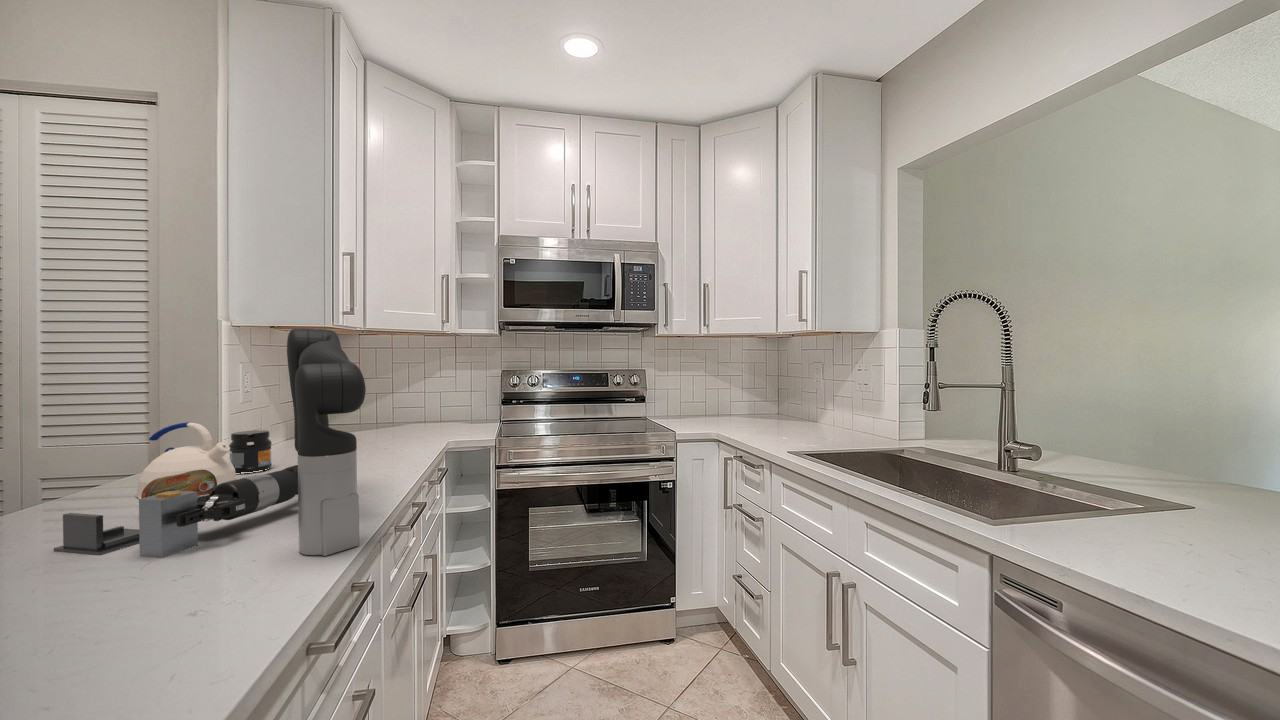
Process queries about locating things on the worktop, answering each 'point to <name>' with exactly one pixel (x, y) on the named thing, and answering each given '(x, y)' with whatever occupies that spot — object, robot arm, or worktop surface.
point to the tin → (183, 483)
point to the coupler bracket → (93, 535)
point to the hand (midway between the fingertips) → (159, 519)
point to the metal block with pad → (166, 524)
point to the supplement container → (250, 451)
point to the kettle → (189, 459)
